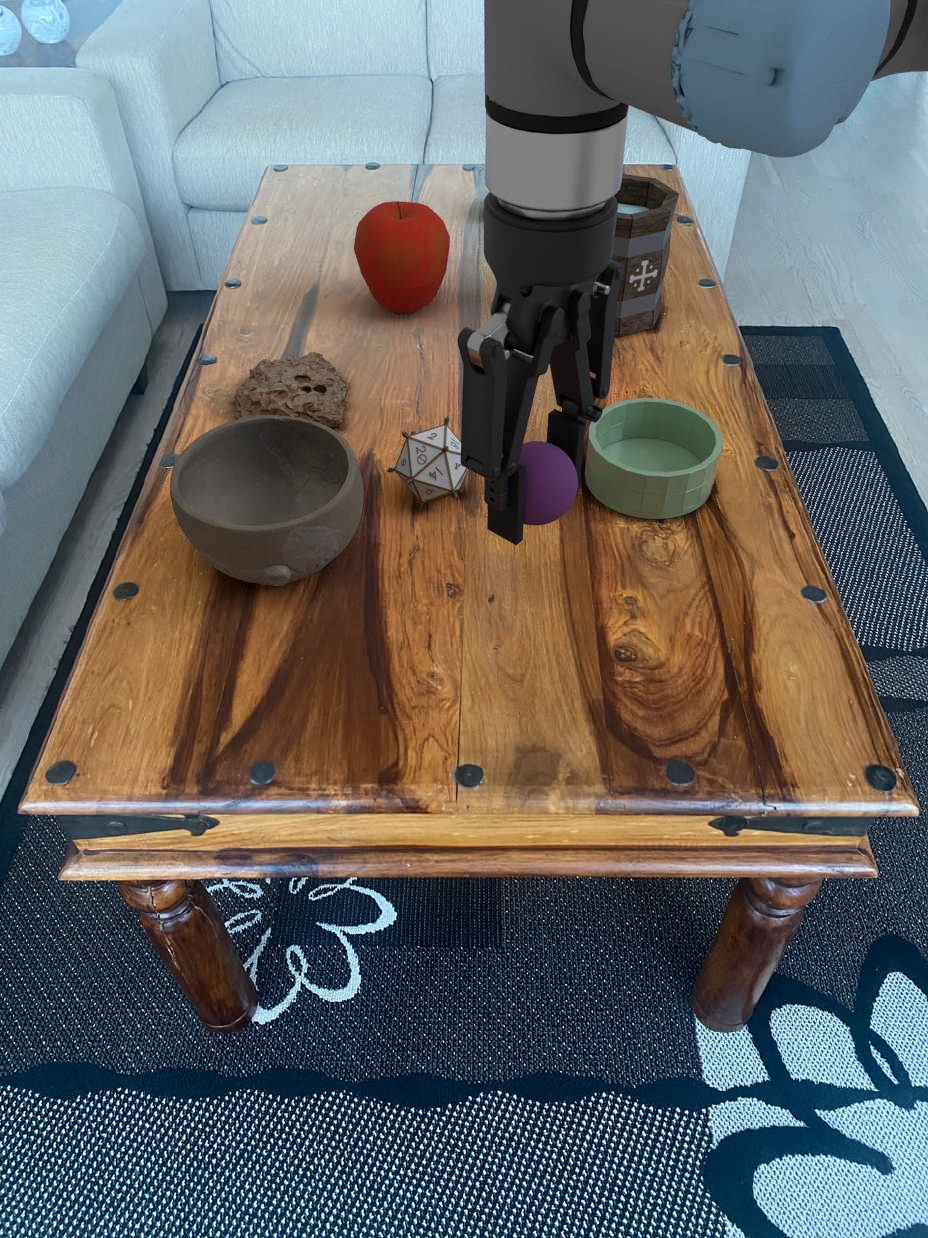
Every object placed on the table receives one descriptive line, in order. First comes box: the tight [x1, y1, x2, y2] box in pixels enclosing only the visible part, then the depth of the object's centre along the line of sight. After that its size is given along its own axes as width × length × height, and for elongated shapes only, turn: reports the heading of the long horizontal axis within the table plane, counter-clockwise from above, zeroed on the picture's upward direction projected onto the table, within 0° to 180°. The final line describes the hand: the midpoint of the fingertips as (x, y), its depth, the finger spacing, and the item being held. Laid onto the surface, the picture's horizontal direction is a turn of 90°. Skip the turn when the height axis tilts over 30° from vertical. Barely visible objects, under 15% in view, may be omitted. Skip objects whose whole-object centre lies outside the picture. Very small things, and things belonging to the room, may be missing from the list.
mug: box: [611, 173, 680, 338], centre depth 116 cm, size 20×14×15 cm
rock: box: [234, 351, 349, 429], centre depth 108 cm, size 14×13×4 cm
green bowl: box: [584, 397, 724, 520], centre depth 95 cm, size 13×13×6 cm
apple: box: [353, 200, 451, 314], centre depth 118 cm, size 12×12×14 cm
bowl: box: [169, 415, 365, 587], centre depth 87 cm, size 17×18×10 cm
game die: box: [386, 415, 470, 512], centre depth 93 cm, size 9×8×10 cm
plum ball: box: [518, 440, 578, 527], centre depth 66 cm, size 6×6×6 cm
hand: (533, 511), depth 68 cm, fingers closed on plum ball, 6 cm apart
